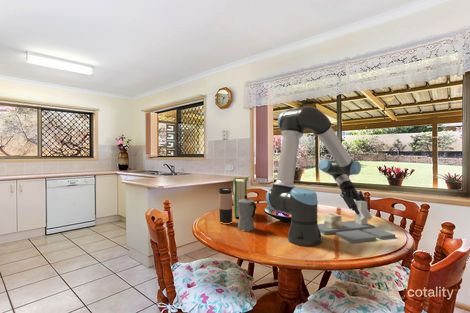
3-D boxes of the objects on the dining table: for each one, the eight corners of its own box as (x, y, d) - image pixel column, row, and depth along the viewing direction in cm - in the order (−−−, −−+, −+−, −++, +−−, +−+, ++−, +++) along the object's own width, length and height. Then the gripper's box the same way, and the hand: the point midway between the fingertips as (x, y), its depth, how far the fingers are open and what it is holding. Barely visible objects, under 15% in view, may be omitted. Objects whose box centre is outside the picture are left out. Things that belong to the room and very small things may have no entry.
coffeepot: (232, 227, 137) (231, 194, 136) (246, 224, 142) (245, 193, 142) (248, 234, 124) (248, 198, 124) (263, 231, 129) (262, 196, 129)
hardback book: (247, 218, 155) (246, 180, 155) (235, 218, 155) (234, 180, 155) (244, 212, 173) (244, 177, 173) (233, 212, 173) (233, 177, 172)
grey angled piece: (324, 234, 122) (324, 206, 122) (311, 227, 134) (310, 202, 134) (374, 228, 130) (374, 203, 130) (358, 222, 141) (357, 199, 141)
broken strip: (352, 243, 110) (352, 239, 110) (335, 235, 121) (335, 232, 121) (395, 237, 116) (395, 234, 116) (376, 230, 127) (376, 227, 127)
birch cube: (331, 228, 126) (331, 216, 126) (324, 225, 132) (324, 214, 132) (341, 227, 128) (341, 215, 128) (334, 224, 134) (333, 213, 134)
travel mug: (220, 221, 150) (219, 188, 150) (232, 221, 150) (232, 187, 150) (218, 224, 142) (218, 189, 142) (232, 224, 142) (231, 189, 142)
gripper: (354, 187, 152) (376, 221, 136) (329, 188, 147) (349, 223, 131) (360, 179, 147) (384, 213, 131) (335, 180, 142) (356, 216, 126)
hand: (366, 218), depth 131 cm, fingers closed on grey angled piece, 4 cm apart
